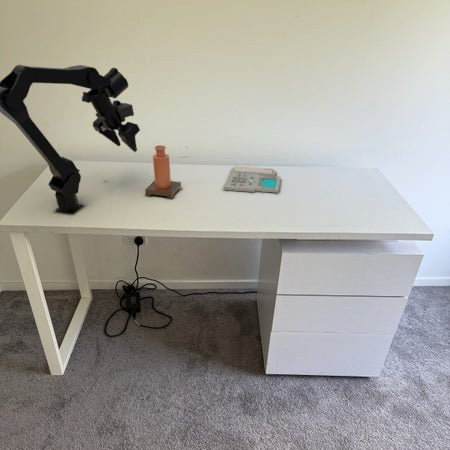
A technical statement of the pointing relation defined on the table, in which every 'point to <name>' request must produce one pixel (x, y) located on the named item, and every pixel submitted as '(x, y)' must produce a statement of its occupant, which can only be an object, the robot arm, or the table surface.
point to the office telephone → (253, 180)
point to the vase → (161, 168)
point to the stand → (163, 190)
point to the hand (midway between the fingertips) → (127, 148)
